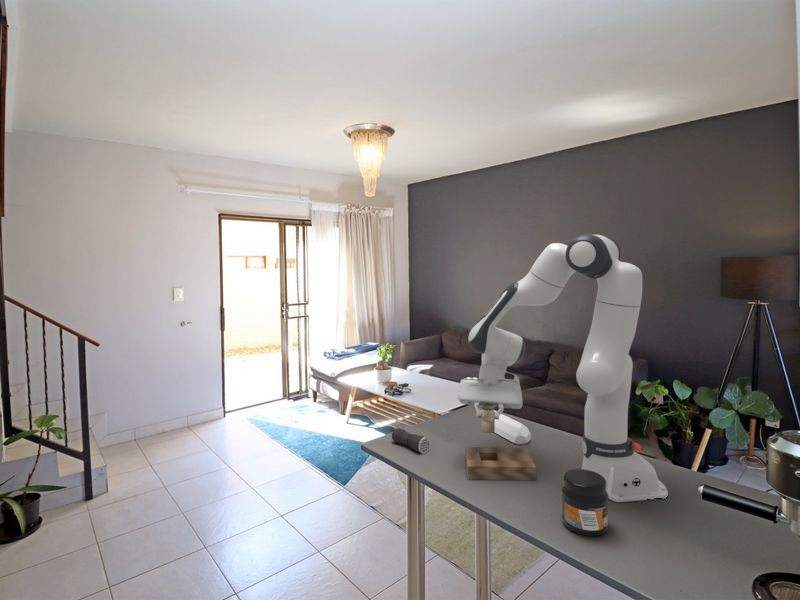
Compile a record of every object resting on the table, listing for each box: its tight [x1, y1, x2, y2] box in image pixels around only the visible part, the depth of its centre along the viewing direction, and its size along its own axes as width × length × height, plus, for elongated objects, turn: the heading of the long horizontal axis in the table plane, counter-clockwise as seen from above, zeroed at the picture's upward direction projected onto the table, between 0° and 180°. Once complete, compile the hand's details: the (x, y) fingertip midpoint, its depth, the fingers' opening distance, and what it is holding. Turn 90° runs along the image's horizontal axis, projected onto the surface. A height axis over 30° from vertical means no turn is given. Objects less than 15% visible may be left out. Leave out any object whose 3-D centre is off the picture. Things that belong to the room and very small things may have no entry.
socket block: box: [464, 446, 537, 481], centre depth 136 cm, size 20×14×4 cm
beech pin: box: [480, 404, 496, 434], centre depth 136 cm, size 4×4×8 cm
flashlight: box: [391, 427, 431, 454], centre depth 156 cm, size 15×5×5 cm, turn 42°
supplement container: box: [560, 468, 610, 537], centre depth 105 cm, size 10×10×12 cm
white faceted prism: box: [493, 410, 532, 445], centre depth 165 cm, size 7×7×24 cm
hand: (487, 417), depth 135 cm, fingers closed on beech pin, 4 cm apart
